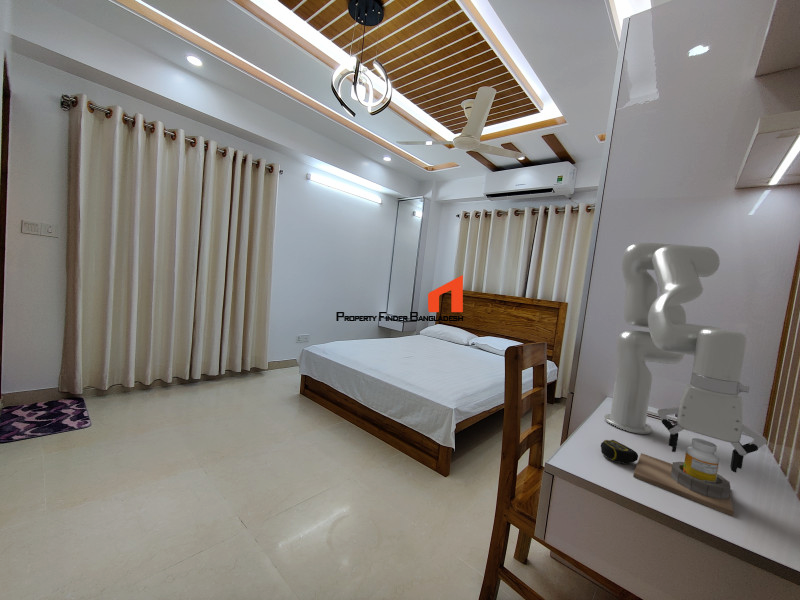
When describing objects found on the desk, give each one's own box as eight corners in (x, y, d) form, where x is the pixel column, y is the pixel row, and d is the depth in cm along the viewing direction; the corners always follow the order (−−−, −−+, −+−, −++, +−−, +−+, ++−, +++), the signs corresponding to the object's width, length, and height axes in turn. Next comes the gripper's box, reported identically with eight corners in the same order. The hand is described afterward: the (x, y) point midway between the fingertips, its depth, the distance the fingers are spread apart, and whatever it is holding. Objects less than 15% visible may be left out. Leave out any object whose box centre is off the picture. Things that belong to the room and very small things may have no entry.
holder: (640, 456, 84) (642, 443, 83) (727, 487, 73) (729, 473, 73) (633, 476, 73) (635, 462, 73) (732, 516, 62) (735, 499, 62)
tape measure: (638, 465, 79) (640, 451, 79) (618, 468, 77) (620, 453, 77) (612, 451, 86) (614, 437, 85) (593, 452, 83) (595, 439, 83)
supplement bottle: (684, 473, 75) (690, 434, 74) (716, 486, 71) (723, 444, 70) (679, 481, 72) (685, 439, 71) (712, 495, 67) (719, 451, 67)
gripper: (770, 393, 67) (757, 472, 67) (664, 372, 78) (654, 439, 79) (777, 401, 61) (763, 486, 62) (662, 376, 73) (651, 448, 74)
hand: (702, 459), depth 71 cm, fingers open, 9 cm apart
